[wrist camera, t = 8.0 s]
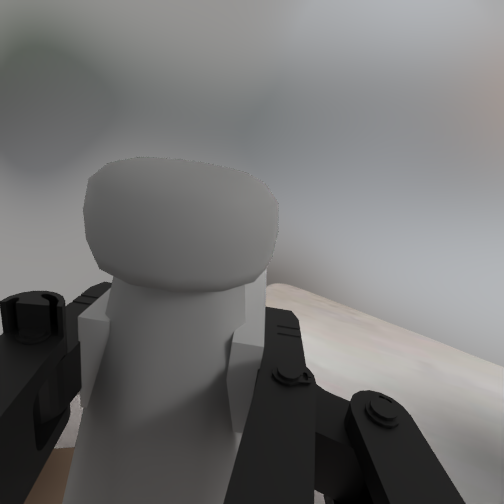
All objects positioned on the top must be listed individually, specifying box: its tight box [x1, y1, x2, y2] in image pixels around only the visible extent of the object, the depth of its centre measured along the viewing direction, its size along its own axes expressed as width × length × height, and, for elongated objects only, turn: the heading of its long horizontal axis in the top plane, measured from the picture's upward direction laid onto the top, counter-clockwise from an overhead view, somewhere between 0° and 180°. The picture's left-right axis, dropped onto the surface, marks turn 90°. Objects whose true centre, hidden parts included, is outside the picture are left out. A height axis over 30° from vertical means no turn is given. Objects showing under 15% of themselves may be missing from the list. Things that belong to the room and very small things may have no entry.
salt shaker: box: [62, 157, 278, 504], centre depth 9 cm, size 6×6×13 cm
